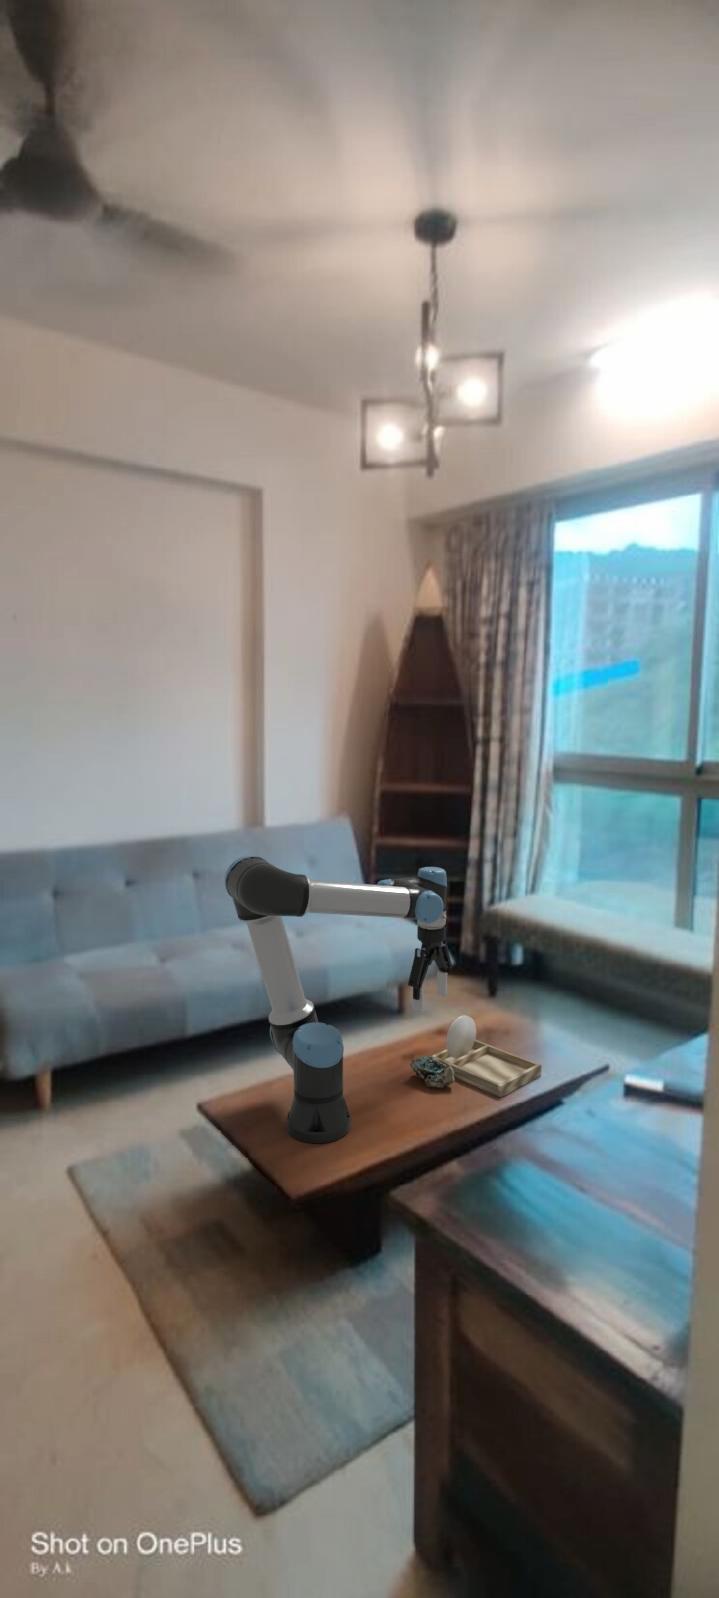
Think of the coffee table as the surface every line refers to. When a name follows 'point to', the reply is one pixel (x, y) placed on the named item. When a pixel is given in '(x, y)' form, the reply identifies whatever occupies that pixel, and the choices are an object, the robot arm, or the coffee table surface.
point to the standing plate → (461, 1036)
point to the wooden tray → (491, 1068)
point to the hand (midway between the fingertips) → (430, 1002)
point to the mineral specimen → (433, 1071)
